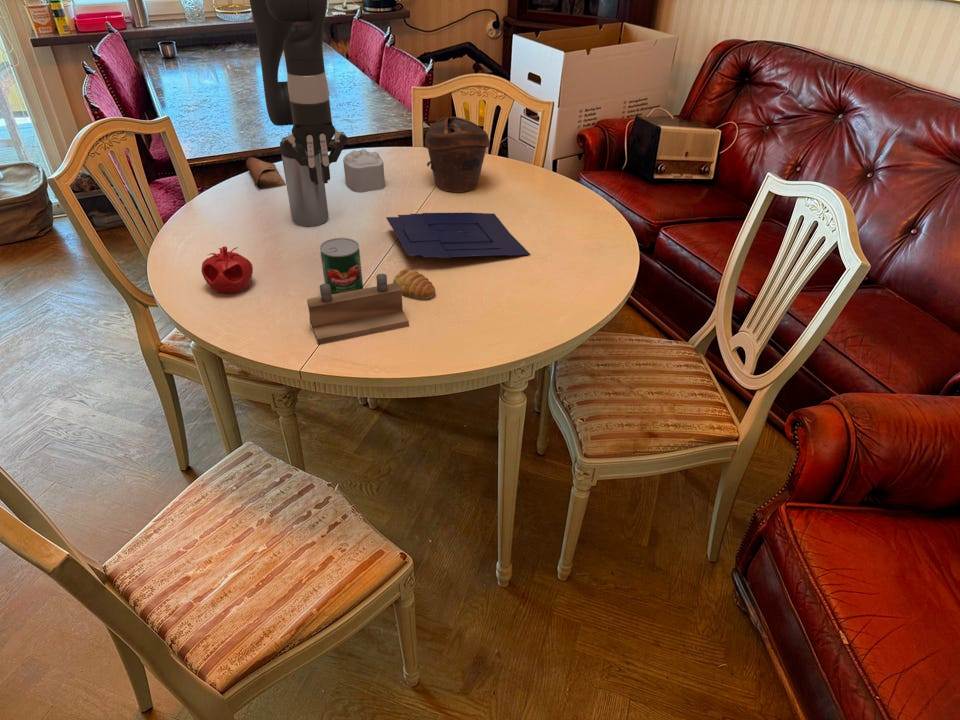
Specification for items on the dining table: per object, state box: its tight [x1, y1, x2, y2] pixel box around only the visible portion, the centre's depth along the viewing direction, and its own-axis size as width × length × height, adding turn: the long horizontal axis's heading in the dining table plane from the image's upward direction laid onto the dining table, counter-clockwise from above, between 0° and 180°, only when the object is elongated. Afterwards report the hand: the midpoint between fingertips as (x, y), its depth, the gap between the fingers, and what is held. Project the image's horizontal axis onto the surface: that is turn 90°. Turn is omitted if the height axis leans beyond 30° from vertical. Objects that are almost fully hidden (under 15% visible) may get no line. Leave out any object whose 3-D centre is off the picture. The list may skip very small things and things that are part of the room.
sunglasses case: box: [245, 156, 287, 191], centre depth 180 cm, size 18×7×7 cm
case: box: [424, 116, 491, 193], centre depth 176 cm, size 18×20×18 cm
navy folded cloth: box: [385, 212, 531, 259], centre depth 152 cm, size 24×30×4 cm
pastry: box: [392, 268, 436, 301], centre depth 133 cm, size 9×7×4 cm
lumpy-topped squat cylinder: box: [342, 148, 386, 193], centre depth 177 cm, size 10×13×9 cm
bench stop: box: [306, 273, 410, 345], centre depth 121 cm, size 8×18×9 cm, turn 113°
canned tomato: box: [319, 237, 364, 295], centre depth 129 cm, size 8×8×11 cm
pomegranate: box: [200, 245, 254, 294], centre depth 130 cm, size 10×10×9 cm
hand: (320, 182), depth 131 cm, fingers closed
